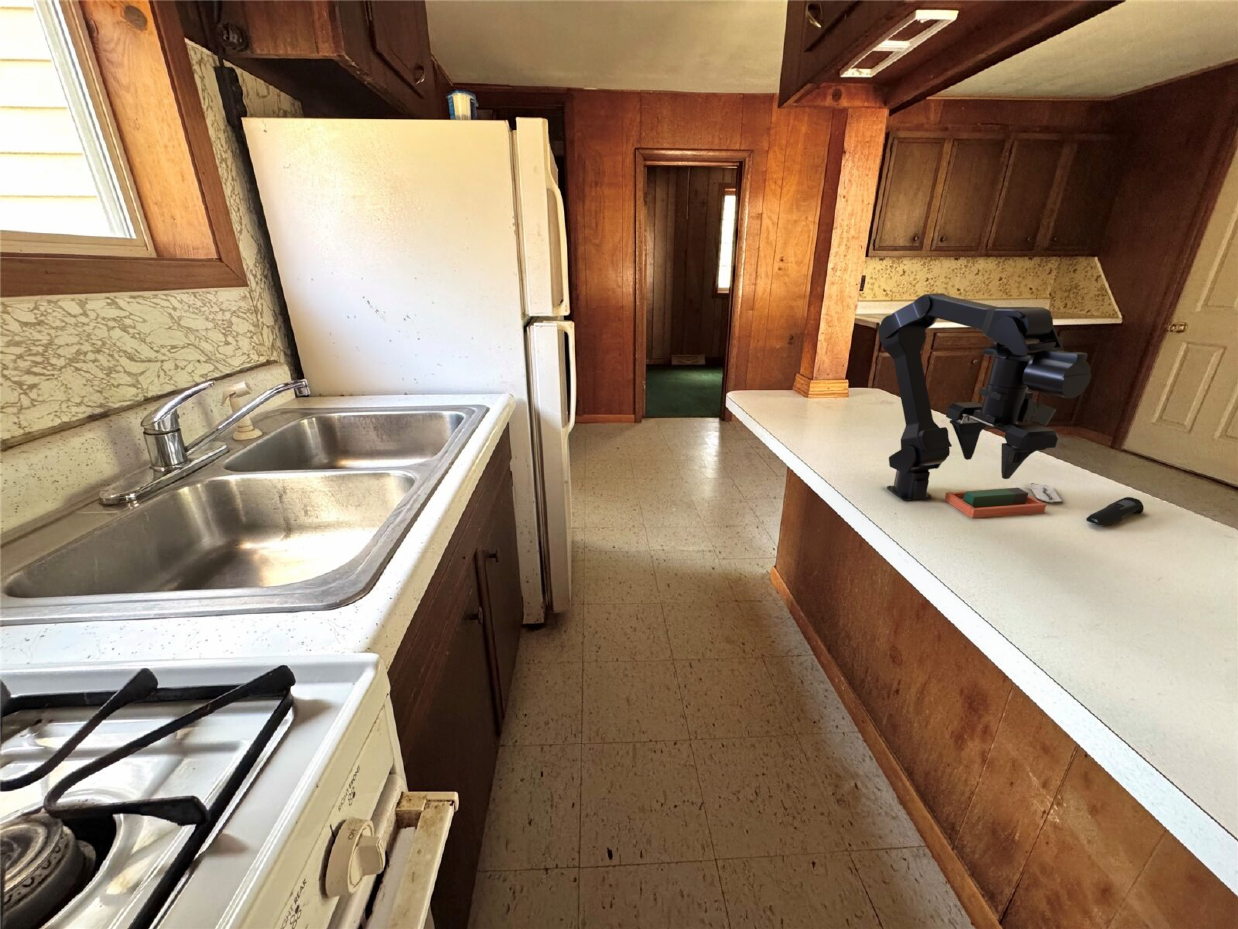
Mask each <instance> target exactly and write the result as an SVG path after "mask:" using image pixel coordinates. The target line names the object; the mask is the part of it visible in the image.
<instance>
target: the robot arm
mask: <svg viewBox="0 0 1238 929" xmlns="http://www.w3.org/2000/svg"><path fill="white" fill-rule="evenodd" d="M938 319H939V320H943V321H947V322H949V323H954V324H958V325H961V326H965V327H968V328H972V329H976V330H978V331H979V332H982V334H983V335H984V336H985V337H986V338H987V339H989V340H992V341H993V343H992V344H991V345H990V346H987V347H986V348H984V349H982V351H981V354H982V355H986V356H993V358H992V363H991V366H990V371H989V374H988V377H987V378H988V379H987V382H986V383H987V384H986V387H979V389H978V394H979V395H982V396H983V399H982V403H979V402H977V401H965V402H964V401H963V402H962V401H961V402H952V403H951V404H950V405H949V406H948V407H947V408H946V413H945V418H947V419H949V424H950V425H952V428H953V430H954V433H955V435H956V437H957V440H958V443H959V446H960V450H961V452H962V456H963V458H964V460H966V461H969V460H972V458H973V456H974V453H975V450H976V447H977V444H978V441H979V437H980V434H981V433H982V431H983V430H984V429H985V428H986V427H987V426H988V427H990V428H993V429H996V430H998V431H1000V432H1002V433H1005V434H1004V439H1005V442H1002V443H1001V455H1000V456H1001V462H1000V465H1001V466H1000V468H1001V469H1000V471H1001V472H1000V473H1001V478H1002V479H1003V480H1009V479H1010V478H1012V476H1013V475H1014V474H1015V472H1016V471H1017V470H1018V469H1019V467H1021V465H1022V464H1023V463H1024V461H1025V460H1026V459H1027V458H1028V457H1030V456H1031V455H1032V454H1034V453H1035V452H1037V451H1045V450H1047V449H1053V448H1055V449H1056V446H1057V443H1058V440H1059V436H1060V435H1059V434H1058V433H1057V431H1056V430H1055V429H1052V428H1050V427H1047V425H1048V424H1049V422H1050V421H1051V419H1052V417H1054V414H1055V412H1056V411H1057V409H1056V408H1054V407H1051V406H1049V405H1048V406H1047V405H1045V404H1042V403H1039V402H1036V401H1034V398H1035V395H1034V392H1038V393H1042V394H1047V395H1050V396H1051V395H1052V396H1055V397H1060V398H1064V399H1074V398H1077V397H1078V396H1080V395H1081V394H1082V393H1083V392H1084V391H1085V390H1086V388H1087V387H1088V385H1089V383H1090V382H1091V379H1092V373H1091V366H1090V364H1089V363H1088V362H1087V358H1088V353H1087V352H1081V351H1075V352H1072V351H1066V350H1065V349H1064V346H1063V344H1062V342H1061V340H1060V337H1059V336H1058V333H1057V330H1056V328H1055V326H1054V320H1053V316H1052V312H1051V311H1050V310H1049V309H1048V308H1045V307H1042V306H997V305H991V304H987V303H983V302H979V301H974V300H970V299H964V298H960V297H956V296H950V295H947V294H945V293H944V292H938V293H937V292H936V293H924V294H922V295H921V296H919V297H918V298H916V299H915V300H914V301H913V302H911V303H909V304H907V305H905V306H903V307H901V308H899V309H897V310H895V311H894V312H893V313H891V314H889V315H886V316H885V317H883V319H882V320H881V321H880V324H879V325H878V327H877V333H878V334H877V335H878V338H879V340H880V343H881V346H882V348H883V350H884V351H885V352H886V353H887V354H888V355H889V356H890V357H891V359H892V360H893V365H894V370H895V375H896V380H897V386H898V390H899V396H900V401H901V406H902V412H903V417H904V423H905V427H904V429H903V433H902V435H901V437H900V449H899V450H898V451H896V452H894V453H893V454H890V456H888V464H889V468H892V469H894V470H896V471H895V476H894V481H893V485H887V486H886V489H887V490H888V491H889V492H891V493H892V494H893V495H895V496H896V497H898V498H899V499H900V500H901V501H917V500H931V499H932V496H933V495H931V494H929V493H928V487H929V482H930V480H929V479H930V475H931V472H930V470H934V469H935V470H937V469H939V468H940V466H941V465H942V464H943V463H944V462H945V461H946V460H947V459H948V457H950V453H951V450H950V448H952V447H953V445H952V443H951V441H950V438H949V430H948V428H947V427H946V426H944V427H943V426H941V427H940V426H939V425H938V424H937V423H936V422H935V421H934V418H933V417H934V416H933V411H932V406H931V402H930V396H929V392H928V387H927V382H926V376H925V372H924V366H923V365H924V364H923V360H922V356H921V352H922V349H923V347H924V344H925V341H926V337H927V336H926V331H927V330H928V329H929V328H931V327H933V325H934V324H936V322H937V320H938ZM1064 350H1065V351H1064ZM1028 390H1030V391H1028ZM1030 421H1031V422H1033V421H1034V422H1036V423H1037V424H1032V423H1031V424H1026V423H1030ZM1018 423H1022V424H1018Z"/></svg>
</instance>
